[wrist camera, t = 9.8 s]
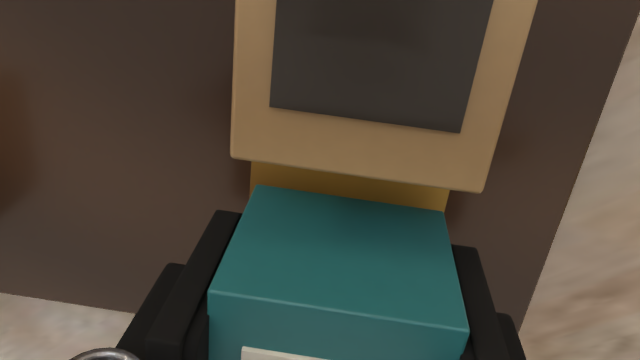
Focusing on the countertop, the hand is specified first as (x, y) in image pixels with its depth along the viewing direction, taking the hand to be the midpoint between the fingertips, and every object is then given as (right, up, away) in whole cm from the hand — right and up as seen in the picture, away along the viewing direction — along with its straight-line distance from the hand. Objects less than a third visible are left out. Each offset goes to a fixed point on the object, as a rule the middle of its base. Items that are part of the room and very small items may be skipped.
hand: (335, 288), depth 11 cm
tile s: (0, 0, +1) cm, 1 cm away
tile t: (+1, +6, -1) cm, 6 cm away
